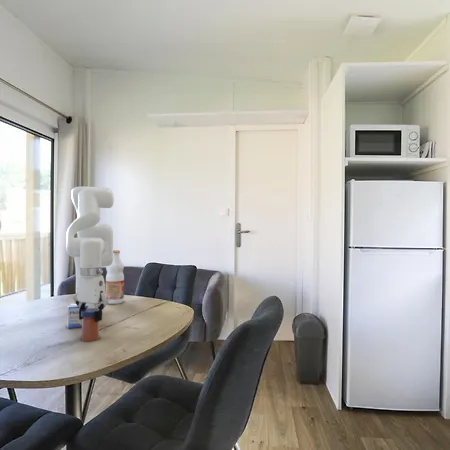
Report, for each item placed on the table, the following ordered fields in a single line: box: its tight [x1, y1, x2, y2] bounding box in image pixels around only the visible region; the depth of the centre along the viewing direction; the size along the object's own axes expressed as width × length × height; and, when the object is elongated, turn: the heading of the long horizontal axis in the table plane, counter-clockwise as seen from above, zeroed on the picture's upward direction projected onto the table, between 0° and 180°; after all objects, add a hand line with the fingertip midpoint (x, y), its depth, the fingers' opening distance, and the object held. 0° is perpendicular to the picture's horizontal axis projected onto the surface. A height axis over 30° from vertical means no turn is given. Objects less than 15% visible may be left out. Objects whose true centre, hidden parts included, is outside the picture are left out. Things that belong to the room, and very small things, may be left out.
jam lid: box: [81, 308, 96, 318], centre depth 138 cm, size 7×7×2 cm
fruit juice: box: [105, 249, 125, 305], centre depth 200 cm, size 9×9×28 cm
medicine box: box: [66, 304, 88, 329], centre depth 155 cm, size 8×4×9 cm, turn 117°
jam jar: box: [81, 317, 100, 342], centre depth 138 cm, size 6×6×10 cm
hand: (90, 319), depth 138 cm, fingers closed on jam lid, 6 cm apart
